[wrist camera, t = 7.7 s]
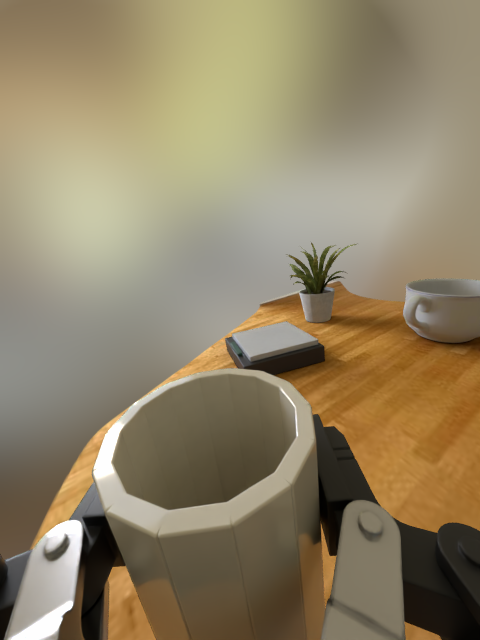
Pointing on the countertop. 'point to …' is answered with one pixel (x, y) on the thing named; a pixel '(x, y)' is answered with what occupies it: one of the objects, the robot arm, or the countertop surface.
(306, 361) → the scale
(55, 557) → the robot arm
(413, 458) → the countertop surface
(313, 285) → the house plant
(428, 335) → the teacup
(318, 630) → the tumbler
